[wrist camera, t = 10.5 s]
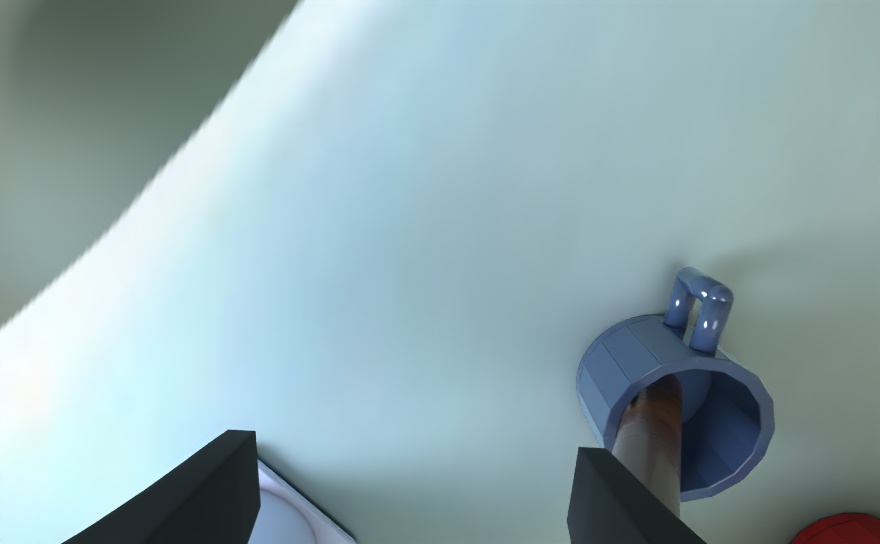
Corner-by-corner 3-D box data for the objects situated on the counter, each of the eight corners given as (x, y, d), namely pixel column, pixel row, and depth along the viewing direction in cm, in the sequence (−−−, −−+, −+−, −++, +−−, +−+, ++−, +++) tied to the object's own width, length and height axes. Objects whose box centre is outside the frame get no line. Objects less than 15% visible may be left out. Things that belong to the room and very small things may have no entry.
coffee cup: (692, 445, 23) (743, 510, 19) (562, 429, 22) (587, 491, 19) (753, 270, 20) (825, 305, 16) (607, 250, 20) (646, 280, 16)
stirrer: (651, 419, 21) (625, 585, 12) (622, 381, 21) (575, 515, 13) (693, 397, 20) (697, 560, 11) (661, 358, 20) (641, 485, 12)
